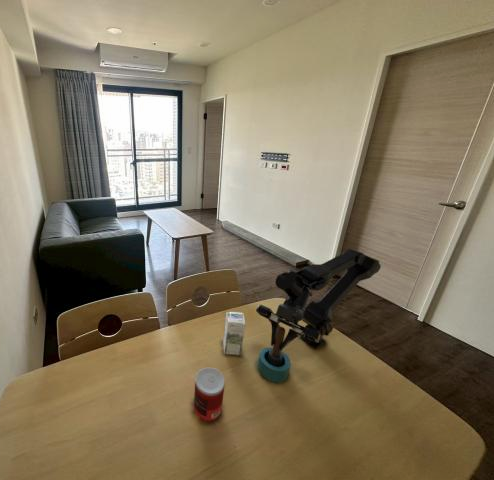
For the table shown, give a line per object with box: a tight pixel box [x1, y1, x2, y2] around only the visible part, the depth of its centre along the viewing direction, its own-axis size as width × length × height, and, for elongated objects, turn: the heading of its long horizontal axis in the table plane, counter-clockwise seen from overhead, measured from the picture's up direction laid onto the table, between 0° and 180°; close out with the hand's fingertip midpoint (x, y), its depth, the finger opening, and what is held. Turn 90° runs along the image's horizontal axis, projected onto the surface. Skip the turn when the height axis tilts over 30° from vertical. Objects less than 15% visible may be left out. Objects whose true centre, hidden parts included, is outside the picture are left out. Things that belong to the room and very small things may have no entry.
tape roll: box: [257, 346, 292, 383], centre depth 81 cm, size 9×9×5 cm
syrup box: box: [222, 311, 247, 356], centre depth 87 cm, size 6×6×14 cm
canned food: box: [193, 367, 226, 422], centre depth 68 cm, size 8×8×11 cm
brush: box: [268, 326, 286, 366], centre depth 78 cm, size 4×4×13 cm
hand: (275, 348), depth 77 cm, fingers closed on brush, 2 cm apart
